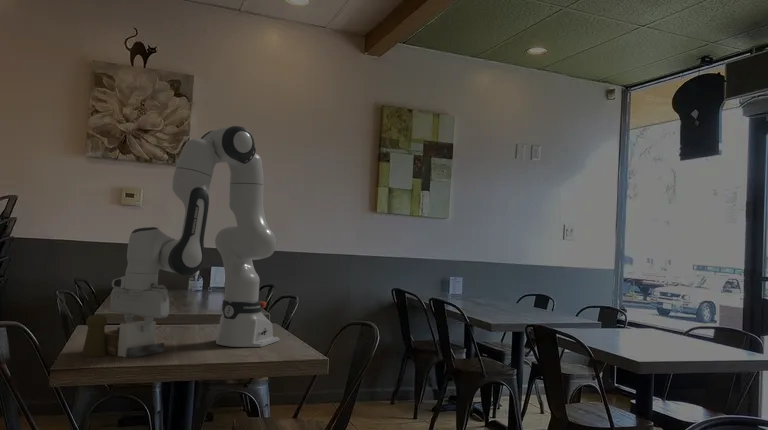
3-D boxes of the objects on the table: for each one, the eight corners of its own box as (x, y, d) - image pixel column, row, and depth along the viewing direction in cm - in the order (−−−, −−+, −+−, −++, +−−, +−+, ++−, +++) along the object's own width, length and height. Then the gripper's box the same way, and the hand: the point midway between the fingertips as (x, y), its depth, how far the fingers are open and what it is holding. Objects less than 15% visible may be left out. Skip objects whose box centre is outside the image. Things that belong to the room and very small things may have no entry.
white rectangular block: (125, 357, 160) (127, 324, 161) (115, 355, 162) (117, 323, 163) (153, 352, 169) (155, 321, 170) (143, 350, 171) (146, 320, 171)
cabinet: (128, 345, 176) (130, 321, 177) (163, 351, 170) (165, 326, 171) (94, 351, 166) (96, 325, 166) (130, 358, 159) (132, 330, 160)
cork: (96, 357, 158) (99, 317, 158) (76, 355, 159) (80, 315, 159) (110, 353, 163) (113, 315, 164) (92, 351, 165) (95, 313, 165)
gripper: (176, 285, 165) (172, 333, 164) (125, 279, 174) (122, 325, 173) (159, 286, 159) (155, 336, 158) (107, 280, 168) (104, 328, 167)
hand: (137, 330), depth 166 cm, fingers open, 4 cm apart
